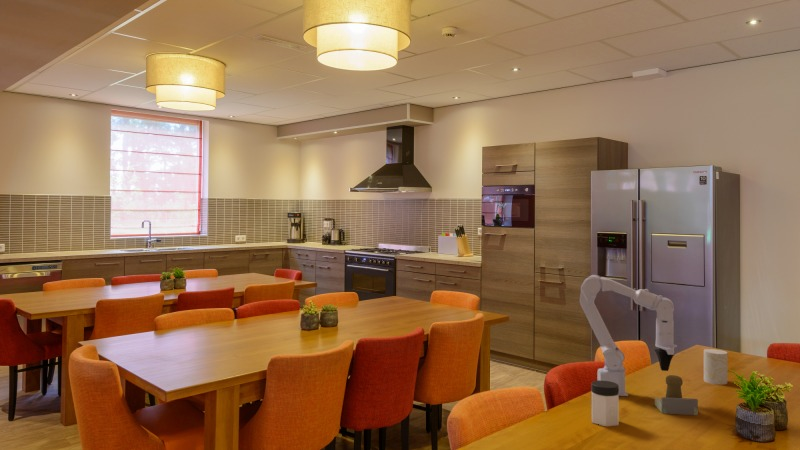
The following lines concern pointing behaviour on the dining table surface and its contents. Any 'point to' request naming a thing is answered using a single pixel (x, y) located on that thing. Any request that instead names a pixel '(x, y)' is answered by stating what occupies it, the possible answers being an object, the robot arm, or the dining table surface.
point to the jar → (605, 403)
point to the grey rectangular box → (677, 405)
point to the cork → (674, 386)
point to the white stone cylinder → (715, 366)
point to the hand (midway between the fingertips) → (664, 370)
